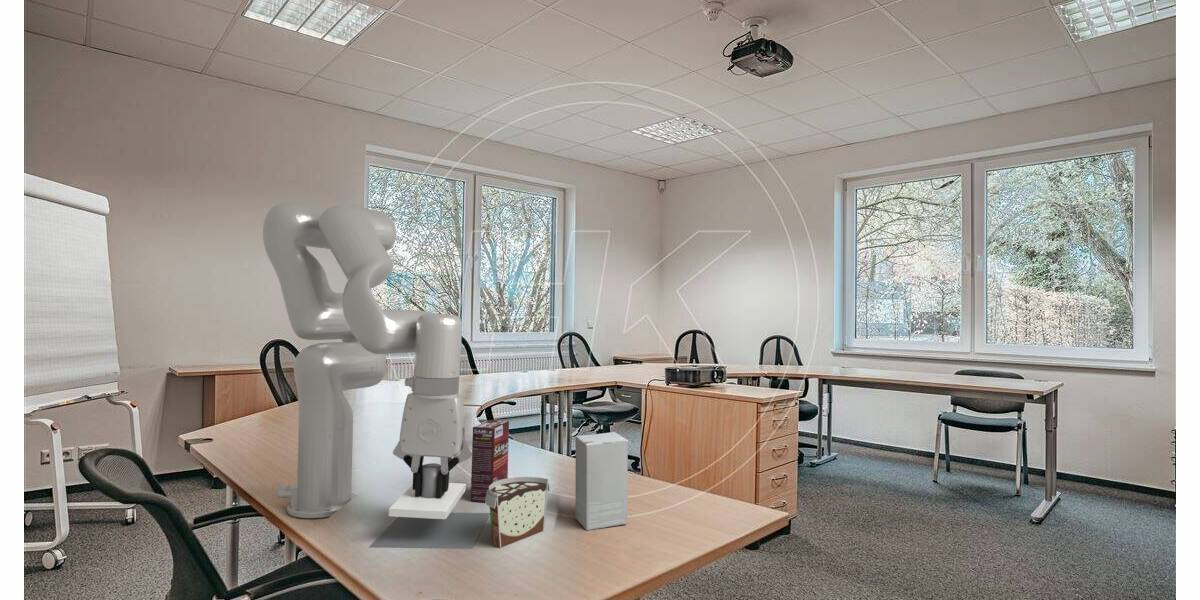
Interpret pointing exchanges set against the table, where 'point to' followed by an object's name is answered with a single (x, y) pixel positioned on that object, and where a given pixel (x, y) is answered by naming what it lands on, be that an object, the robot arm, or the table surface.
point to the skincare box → (601, 480)
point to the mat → (433, 532)
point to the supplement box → (488, 457)
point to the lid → (428, 497)
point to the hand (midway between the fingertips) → (430, 493)
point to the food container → (517, 508)
